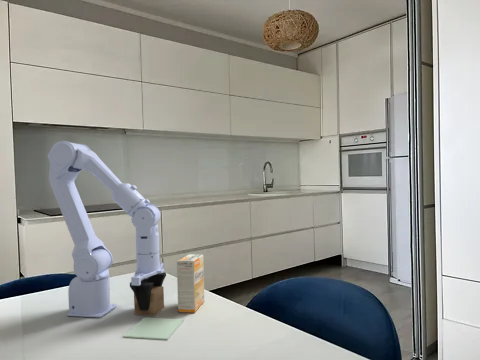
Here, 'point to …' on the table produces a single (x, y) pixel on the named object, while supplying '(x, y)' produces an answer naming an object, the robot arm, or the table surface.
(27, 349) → the table surface
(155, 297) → the walnut block
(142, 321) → the sage pad
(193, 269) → the supplement box
